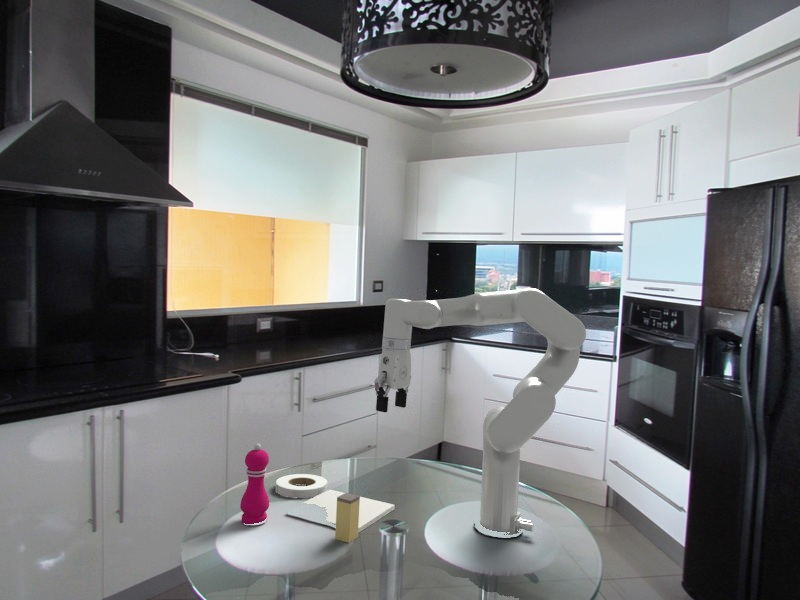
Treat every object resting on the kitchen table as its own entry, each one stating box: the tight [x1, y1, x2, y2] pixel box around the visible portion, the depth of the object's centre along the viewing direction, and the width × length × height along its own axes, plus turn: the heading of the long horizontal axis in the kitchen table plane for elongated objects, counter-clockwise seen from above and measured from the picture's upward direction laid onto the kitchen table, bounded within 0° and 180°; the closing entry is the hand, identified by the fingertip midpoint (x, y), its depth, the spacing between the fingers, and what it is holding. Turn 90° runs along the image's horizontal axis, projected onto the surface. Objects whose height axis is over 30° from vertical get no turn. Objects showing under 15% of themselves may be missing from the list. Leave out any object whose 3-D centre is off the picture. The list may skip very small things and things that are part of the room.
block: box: [334, 492, 361, 543], centre depth 133 cm, size 4×4×10 cm
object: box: [275, 473, 328, 499], centre depth 165 cm, size 16×15×3 cm
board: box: [302, 489, 395, 534], centre depth 149 cm, size 22×20×1 cm
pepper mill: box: [239, 443, 270, 524], centre depth 140 cm, size 7×7×20 cm
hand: (391, 409), depth 145 cm, fingers open, 9 cm apart
